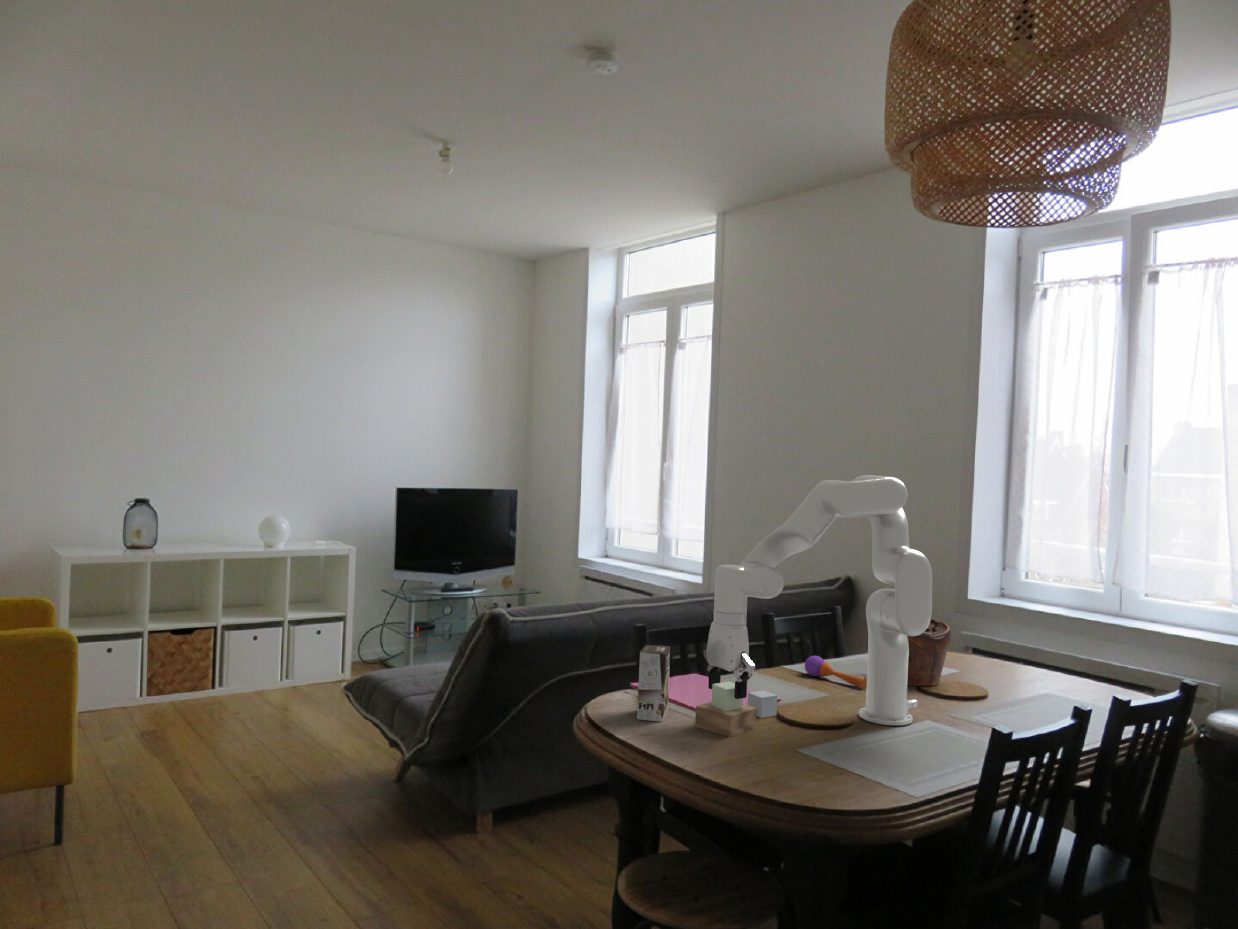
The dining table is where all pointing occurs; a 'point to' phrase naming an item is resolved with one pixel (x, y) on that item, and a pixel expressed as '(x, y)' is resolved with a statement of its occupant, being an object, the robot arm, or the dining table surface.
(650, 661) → the coffee box
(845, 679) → the purple and orange maraca
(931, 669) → the brown plant pot
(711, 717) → the walnut base block
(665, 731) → the dining table surface
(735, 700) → the sage block
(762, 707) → the slate block
